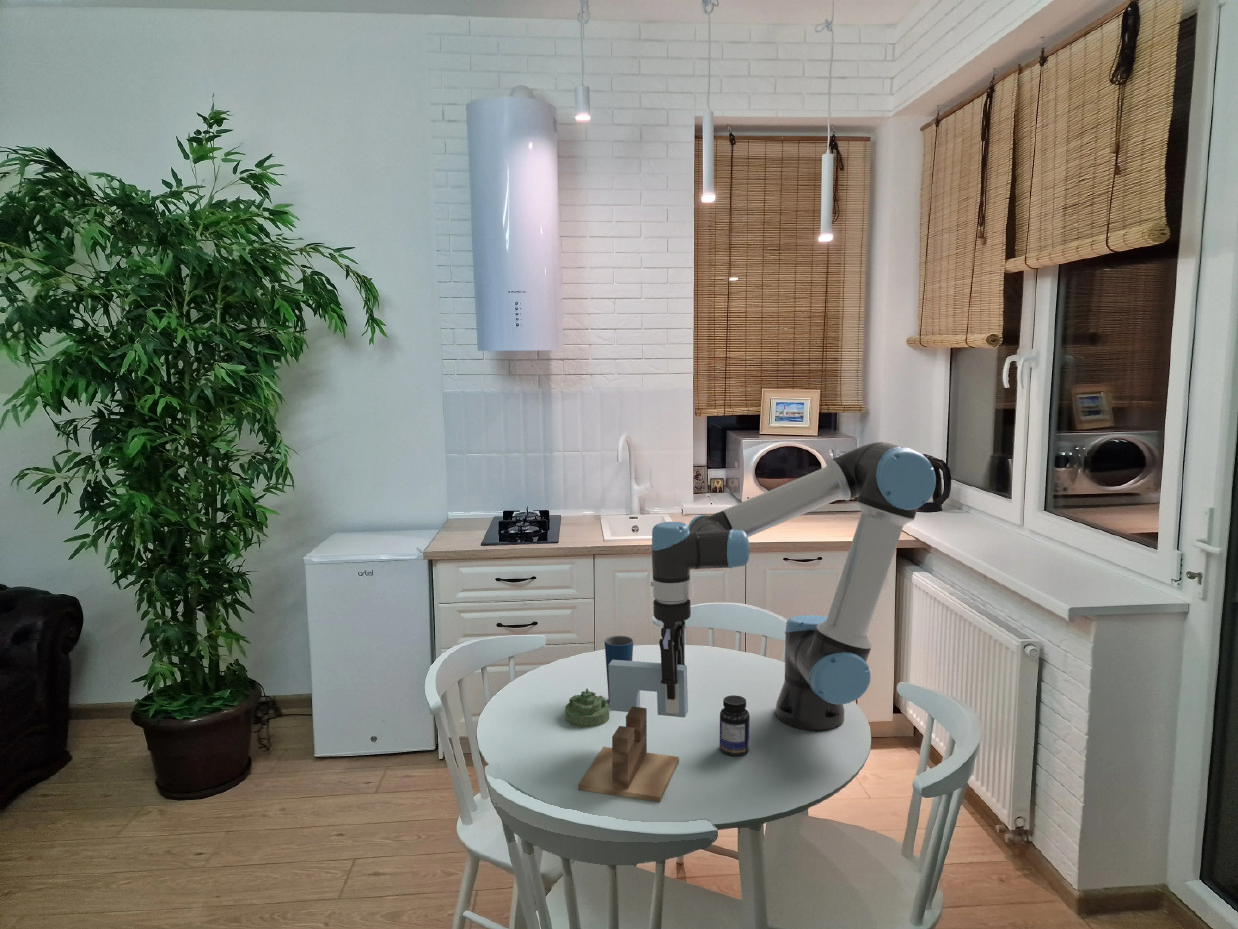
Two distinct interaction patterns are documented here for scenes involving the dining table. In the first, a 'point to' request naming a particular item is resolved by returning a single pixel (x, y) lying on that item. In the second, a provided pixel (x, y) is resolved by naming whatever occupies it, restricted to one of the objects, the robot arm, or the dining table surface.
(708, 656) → the dining table surface
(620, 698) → the slotted plate
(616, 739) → the jig
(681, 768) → the dining table surface
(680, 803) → the dining table surface
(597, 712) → the decorative artifact
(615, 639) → the cup
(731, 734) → the pill bottle
